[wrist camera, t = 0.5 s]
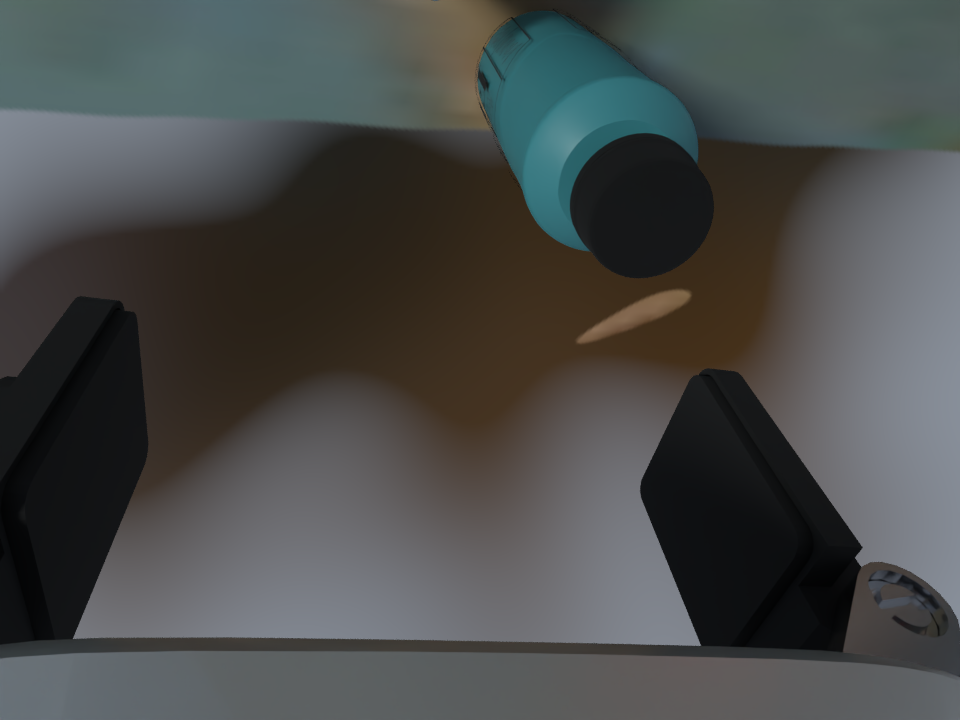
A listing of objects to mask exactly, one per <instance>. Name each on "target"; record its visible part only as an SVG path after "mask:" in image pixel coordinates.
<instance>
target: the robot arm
mask: <svg viewBox="0 0 960 720" xmlns="http://www.w3.org/2000/svg"><path fill="white" fill-rule="evenodd" d="M147 452H148V435H147V424H146V413H145V402H144V390H143V379H142V369H141V358H140V347H139V335H138V324H137V317H136V314H135V313H134V312H130V311H124V307H123V304H122V303H121V302H120V301H117V300H107V299H99V298H90V297H82V296H80V297H77V298H76V299H75V300H74V301H73V302H72V304H71V305H70V306H69V308H68V309H67V310H66V312H65V313H64V314H63V316H62V317H61V318H60V320H59V321H58V322H57V324H56V325H55V327H54V328H53V329H52V331H51V332H50V333H49V335H48V336H47V337H46V339H45V340H44V342H43V343H42V344H41V346H40V347H39V348H38V350H37V351H36V352H35V354H34V355H33V356H32V358H31V359H30V361H29V362H28V363H27V365H26V366H25V367H24V369H23V370H22V371H21V373H20V374H19V375H18V377H9V376H7V377H4V378H2V379H0V720H960V627H959V623H958V619H957V617H956V615H955V614H954V612H953V610H952V608H951V607H950V605H949V604H948V603H947V602H946V601H945V599H944V598H943V597H942V596H941V595H940V594H939V593H938V592H937V591H936V590H935V589H933V588H932V587H931V586H930V585H929V584H928V583H926V582H925V581H924V580H922V579H921V578H919V577H918V576H916V575H914V574H913V573H911V572H910V571H907V570H905V569H903V568H900V567H898V566H896V565H892V564H888V563H883V562H870V563H868V564H866V565H864V566H862V567H861V566H860V565H859V563H858V562H857V560H856V559H855V557H856V555H857V554H858V553H859V552H860V550H861V549H862V546H861V545H860V543H859V542H858V540H857V539H856V537H855V536H854V535H853V533H852V532H851V530H850V529H849V528H848V526H847V525H846V523H845V522H844V521H843V519H842V518H841V516H840V515H839V513H838V512H837V511H836V509H835V508H834V506H833V505H832V503H831V502H830V501H829V499H828V498H827V496H826V495H825V494H824V492H823V491H822V489H821V488H820V487H819V485H818V484H817V482H816V481H815V479H814V478H813V477H812V475H811V474H810V472H809V471H808V470H807V468H806V467H805V465H804V464H803V462H802V461H801V459H800V458H799V457H798V455H797V454H796V453H795V451H794V450H793V448H792V447H791V445H790V444H789V442H788V441H787V440H786V438H785V437H784V435H783V434H782V433H781V431H780V430H779V428H778V427H777V425H776V424H775V423H774V421H773V420H772V418H771V417H770V416H769V414H768V413H767V412H766V410H765V409H764V408H763V406H762V404H761V403H760V402H759V400H758V399H757V397H756V396H755V394H754V393H753V392H752V390H751V389H750V387H749V386H748V384H747V383H746V382H745V380H744V379H743V377H742V376H741V375H740V374H739V373H738V372H734V371H726V370H717V369H704V370H703V371H702V372H700V374H699V375H696V376H693V377H692V378H691V379H690V381H689V383H688V385H687V387H686V389H685V391H684V393H683V395H682V397H681V399H680V401H679V403H678V406H677V408H676V410H675V412H674V414H673V416H672V418H671V420H670V422H669V424H668V426H667V428H666V430H665V433H664V434H663V437H662V439H661V441H660V443H659V445H658V447H657V449H656V451H655V453H654V455H653V457H652V460H651V461H650V463H649V466H648V468H647V470H646V472H645V474H644V476H643V478H642V481H641V486H640V493H641V498H642V501H643V503H644V506H645V508H646V511H647V513H648V516H649V518H650V521H651V523H652V526H653V528H654V531H655V533H656V535H657V538H658V540H659V543H660V545H661V548H662V550H663V553H664V555H665V558H666V560H667V562H668V565H669V567H670V570H671V572H672V575H673V577H674V580H675V582H676V584H677V587H678V590H679V592H680V595H681V597H682V600H683V602H684V604H685V607H686V609H687V612H688V614H689V617H690V619H691V621H692V624H693V627H694V629H695V632H696V634H697V636H698V639H699V641H700V644H701V646H678V645H637V644H636V645H635V644H597V643H545V642H497V641H495V642H494V641H441V640H379V639H373V640H372V639H306V638H304V639H303V638H302V639H301V638H232V637H230V638H229V637H226V638H225V637H223V638H87V639H73V637H74V634H75V632H76V629H77V627H78V625H79V622H80V620H81V617H82V615H83V613H84V610H85V608H86V605H87V603H88V601H89V598H90V595H91V593H92V591H93V588H94V586H95V583H96V581H97V579H98V576H99V574H100V571H101V569H102V567H103V564H104V562H105V559H106V557H107V555H108V552H109V550H110V547H111V545H112V542H113V540H114V537H115V535H116V533H117V530H118V528H119V525H120V523H121V521H122V518H123V516H124V513H125V511H126V509H127V506H128V504H129V501H130V499H131V496H132V494H133V492H134V489H135V487H136V484H137V482H138V480H139V477H140V475H141V472H142V470H143V467H144V465H145V462H146V458H147Z"/></svg>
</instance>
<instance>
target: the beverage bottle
mask: <svg viewBox="0 0 960 720" xmlns="http://www.w3.org/2000/svg"><path fill="white" fill-rule="evenodd" d="M553 10H554V9H553ZM557 10H558V9H557ZM554 11H555V12H553V11H533V12H528V13H525V14H522V15H519V16H517V17H515V18H513V17H511V18H512V20H510V21H509V22H507V23H506V24H505V25H503V26H501V27H500V29H499V30H497V32H495V33H494V35H493V36H492V37H491V40H490V41H489V43H488V44H487V46H486V48H484V47H483V49H484V52H483V55H482V57H481V61H480V62H479V63H480V64H478V65H479V66H478V67H479V70H478V69H477V70H478V71H477V72H478V80H477V82H478V90H479V95H480V98H481V101H482V104H483V107H484V109H485V111H486V114H487V115H488V118H489V120H490V122H491V124H492V127H493V128H492V127H490V128H492V130H493V132H494V131H495V132H494V133H496V134H495V135H496V137H497V138H498V140H499V142H500V144H501V147H502V149H503V151H504V154H505V156H506V158H507V160H508V162H509V164H510V166H511V168H512V170H513V172H514V174H515V175H516V177H517V179H518V181H519V183H520V185H521V187H522V189H523V193H524V196H525V200H526V203H527V205H528V208H529V209H530V211H531V214H532V215H533V217H534V219H535V220H536V222H537V223H538V224H539V225H540V226H541V228H542V229H543V230H544V231H545V232H547V233H548V234H549V235H550V236H551V237H553V238H554V239H556V240H557V241H559V242H561V243H563V244H565V245H567V246H569V247H572V248H575V249H579V250H584V251H591V252H592V253H593V255H594V256H595V257H596V259H597V260H598V261H599V262H600V263H601V264H602V265H604V267H606V268H607V269H609V270H611V271H612V272H614V273H616V274H619V275H622V276H625V277H630V278H648V277H653V276H657V275H661V274H663V273H666V272H668V271H671V270H673V269H674V268H676V267H678V266H679V265H681V264H682V263H684V262H685V261H686V260H688V259H689V258H690V257H691V256H692V255H693V254H694V253H695V252H696V251H697V249H698V248H699V247H700V245H701V244H702V242H703V241H704V240H705V238H706V236H707V234H708V231H709V229H710V226H711V223H712V219H713V212H714V203H713V195H712V191H711V188H710V185H709V183H708V181H707V179H706V178H705V176H704V175H703V173H702V172H701V171H700V170H699V168H698V166H697V161H698V140H697V133H696V130H695V126H694V123H693V121H692V119H691V116H690V114H689V112H688V111H687V109H686V108H685V106H684V105H683V104H682V102H681V101H680V100H679V99H678V98H677V97H676V96H675V95H674V94H673V93H671V92H670V91H669V90H668V89H667V88H665V87H664V86H662V85H660V84H658V83H657V82H654V81H652V80H651V79H650V78H648V77H647V76H646V75H644V74H643V73H642V72H640V71H639V70H638V69H637V68H635V67H634V66H635V65H634V66H632V65H631V64H630V63H628V62H627V61H626V60H625V59H624V58H623V57H621V56H620V55H619V54H618V53H617V52H616V51H615V50H614V49H612V48H611V47H610V46H608V45H607V44H606V43H604V42H603V41H601V40H600V39H599V38H597V37H596V36H594V35H593V34H592V32H591V33H590V32H589V31H590V30H589V31H588V30H586V29H585V28H583V27H582V26H581V25H582V24H581V25H579V24H578V23H577V22H575V21H574V20H572V19H571V17H572V16H573V15H572V16H571V15H570V18H569V17H567V16H565V15H563V14H560V13H558V12H557V11H556V10H554ZM561 11H562V10H561ZM566 13H567V12H566ZM567 14H568V13H567ZM575 18H576V17H575ZM575 18H574V19H575ZM509 19H510V18H509ZM507 20H508V19H507ZM507 20H506V21H507ZM575 20H576V19H575ZM577 20H578V19H577ZM579 22H581V21H579ZM503 23H504V22H503ZM503 23H502V24H503ZM502 24H501V25H502ZM583 24H584V23H583ZM584 27H585V25H584ZM586 27H587V26H586ZM588 29H591V28H590V27H589V26H588ZM592 30H593V29H592ZM592 30H591V31H592ZM593 32H594V30H593ZM595 33H596V32H595ZM492 34H493V33H492ZM492 34H491V35H492ZM596 35H597V33H596ZM599 36H600V34H599ZM601 36H602V35H601ZM601 36H600V37H601ZM489 38H490V37H489ZM603 39H605V38H603ZM606 41H607V40H606ZM609 43H610V42H609ZM485 44H486V43H485ZM612 45H613V43H612ZM484 46H485V45H484ZM613 46H614V45H613ZM616 48H617V46H616ZM483 49H482V50H483ZM619 50H620V49H619ZM481 52H482V51H481ZM479 57H480V56H479ZM478 60H479V59H478ZM630 61H631V60H630ZM476 68H477V67H476ZM475 75H477V74H476V73H475ZM476 79H477V77H476ZM475 89H476V92H477V87H475ZM476 95H477V94H476ZM478 99H479V98H478ZM479 103H480V102H479ZM480 108H481V110H482V112H483V114H484V111H483V109H482V107H481V104H480ZM486 114H484V116H485V115H486ZM485 118H486V116H485ZM486 121H487V119H486ZM490 122H489V123H490ZM487 123H488V121H487ZM489 123H488V126H489V125H491V124H489ZM490 130H491V129H490ZM507 160H506V161H507Z"/></svg>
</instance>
